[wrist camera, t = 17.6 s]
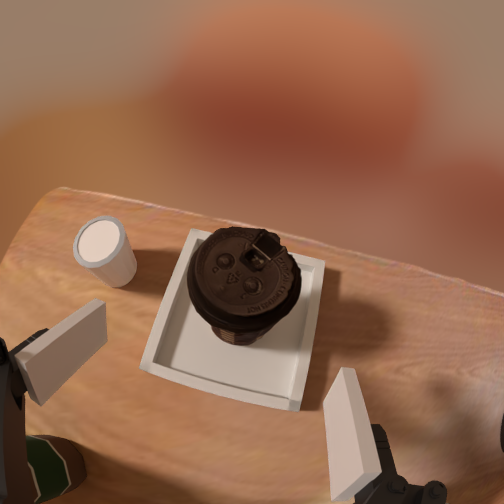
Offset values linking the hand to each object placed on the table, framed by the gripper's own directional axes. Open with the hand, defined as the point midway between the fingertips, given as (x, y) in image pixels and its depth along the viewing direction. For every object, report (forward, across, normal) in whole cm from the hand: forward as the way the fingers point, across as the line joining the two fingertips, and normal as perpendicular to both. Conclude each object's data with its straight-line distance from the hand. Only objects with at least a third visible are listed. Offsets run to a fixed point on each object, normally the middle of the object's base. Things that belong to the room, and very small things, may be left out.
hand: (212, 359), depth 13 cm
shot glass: (+18, -17, -5) cm, 25 cm away
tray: (+16, 0, -7) cm, 18 cm away
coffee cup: (+16, 0, -6) cm, 17 cm away
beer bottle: (-2, -16, -25) cm, 30 cm away
